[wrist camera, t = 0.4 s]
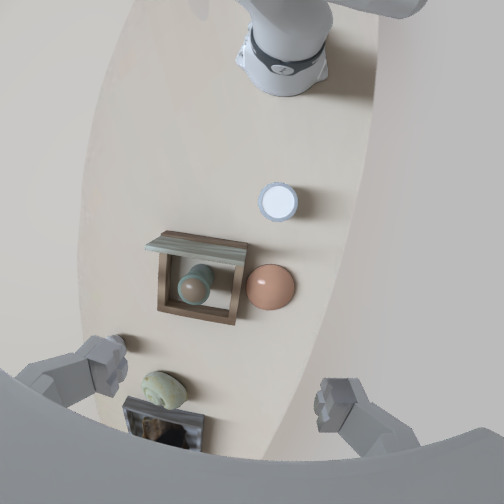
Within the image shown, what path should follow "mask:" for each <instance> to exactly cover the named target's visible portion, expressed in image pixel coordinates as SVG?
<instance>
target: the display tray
mask: <svg viewBox="0 0 504 504" xmlns="http://www.w3.org/2000/svg"><path fill="white" fill-rule="evenodd" d="M122 407H123V411H124V416H125V420H126V424H127V427H128V431H129V434H131V435H134V436H138V437H141V438H142V436H143V432H144V430H143V425H142V423H143V420H144V417H145V416H149V417H152V418H156V419H160V420H163V421H167V422H171V423H175V424H180V425H182V426H183V428H184V429H185V430H186V431H187V433H186V434H185V439H186V441H187V443H188V447H189V450H192V451H197V452H201V450H202V435H203V422H204V415H202V414H197V413H192V412H187V411H182V410H178V409H173V410H168V409H166V408H164V406H162V405H155V404H153V403H150V402H147V401H143V400H140V399H137V398H133V397H130V396H128V397H127V399H126V400H125V402H124V404H123V406H122Z"/></svg>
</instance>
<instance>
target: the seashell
mask: <svg viewBox="0 0 504 504" xmlns="http://www.w3.org/2000/svg"><path fill="white" fill-rule="evenodd" d="M142 391H143V393H144V395H145V396H146V398H147V399H148V400H149V401H150V402H151V403H153V404H155V405H164V408H166V409H168V410H173V409H176V408H178V407H180V406H181V405H182V404H183V403H184V402H186V401H187V399H188V395H187V392H186V390H185V388H184V387H183V386H182V384H181V383H179V382H178V381H177V380H176V379H174V378H173V377H171V376H169V375H167V374H165V373H163V372H152V373H149V374H148V375H146V376H145V377H144V379H143V381H142Z"/></svg>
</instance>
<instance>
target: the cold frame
mask: <svg viewBox="0 0 504 504" xmlns="http://www.w3.org/2000/svg"><path fill="white" fill-rule="evenodd" d="M247 246H248V243H244V242H237V241H231V240H225V239H218V238H212V237H206V236H199V235H193V234H186V233H180V232H173V231H165V232H163V233H161V236H160V237H158V238H156V239H155V240H153V241H151V242H150V243H148V244H146V245H145V250H148V251H154V252H160V254H159V273H158V307H157V311H161V312H165V313H170V314H175V315H180V316H185V317H190V318H195V319H200V320H205V321H211V322H217V323H223V324H229V325H235V322H236V315H237V309H238V303H239V296H240V290H241V283H242V277H243V271H244V264H245V258H246V252H247ZM172 255H177V256H183V257H189V258H195V259H201V260H207V261H213V262H219V263H225V264H231V265H236V267H235V274H234V281H233V288H232V295H231V302H230V309H229V310H226V309H220V308H214V307H208V306H203V305H191V304H188V303H186V302H181V301H176V300H171V299H169V294H170V275H171V260H172Z"/></svg>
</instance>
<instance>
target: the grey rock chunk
mask: <svg viewBox="0 0 504 504" xmlns="http://www.w3.org/2000/svg"><path fill="white" fill-rule="evenodd" d="M106 339H108V340H111V341H114V342H117V343H120V344H123V345H124V346H125V343H124V341H123V339H122V338H121V337H120V336H117V335H112V336H108V337H107V338H106Z"/></svg>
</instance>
